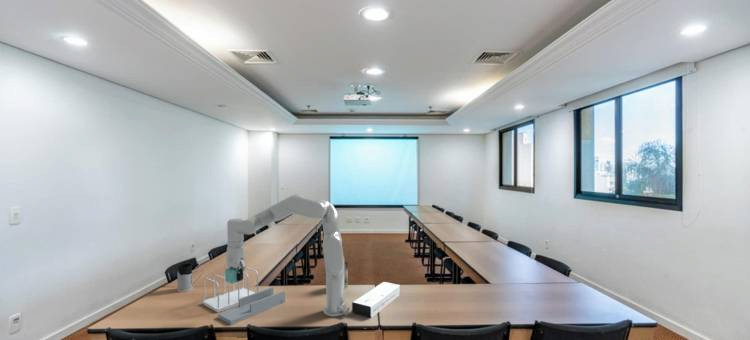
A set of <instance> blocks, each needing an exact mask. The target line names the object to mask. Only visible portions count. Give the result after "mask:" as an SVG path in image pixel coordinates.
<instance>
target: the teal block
mask: <svg viewBox="0 0 750 340" xmlns="http://www.w3.org/2000/svg"><path fill="white" fill-rule="evenodd" d="M240 268H241V267H240ZM240 268H239V270H240ZM224 271H225V272H224V273H225V283H226V282H227V283H228V282H229V284H231V285H232V284H233V283H234V284H236V283H238V282H239V283H240V282H242V280H240V281H237V273H238V272H237V268H234V267H232V268H229V267H228V268H225V269H224Z"/></svg>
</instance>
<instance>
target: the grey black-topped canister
mask: <svg viewBox="0 0 750 340" xmlns="http://www.w3.org/2000/svg"><path fill="white" fill-rule="evenodd" d="M192 267H193V265H192V264H191V263H184V264H180V265H178V266H177V274H176V275H177V290H176V292H177V293H187V292H186V291H188V292H190V290H191V291H192V290H194V287H193V286H194V285H195V283H196V282H197V281H198V280H199V279H200V278H201V277H202V274H203V272H204V271H203V270H204V268H203V266H202V265H200V267H201V274H200V276H198V278H197V279H195V281H194V282H193V274H196V269H197V268H198V267H199V265H197V266H196V267H195V268H194V271H193V269H192Z"/></svg>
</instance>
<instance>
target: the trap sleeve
mask: <svg viewBox="0 0 750 340" xmlns="http://www.w3.org/2000/svg"><path fill="white" fill-rule="evenodd" d="M285 295H286V293H285V291H284V290H282V291H279V292H277V293H274V286H270V287H268V288H265V289H263V290H258V292H257V291H256V292H255V293H254V294H251V295H248V296H246V297H243V298H240V299H239V305H237V306H234V307H232V308H229V309H227V310H224V311H222V312H219V313H218V314H217V319H219V320H221V321H223V322H224V323H227V324H229V325H231V326H232V325H234V324H238V323H239V322H241V321H244V320H246V319H249V318H251V317H253V316H256V315H258V314H260V313H263V312H265V311H267V310H269V309H272V308H273V307H276V306H279V305H281V304H283V303H285V302H286V298H285Z"/></svg>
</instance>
